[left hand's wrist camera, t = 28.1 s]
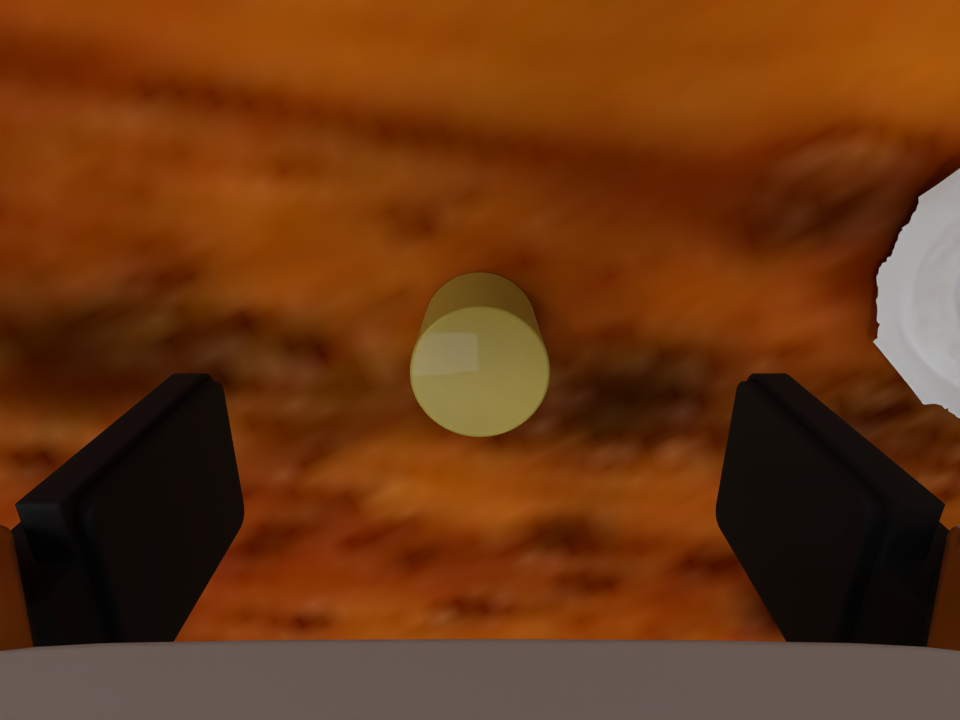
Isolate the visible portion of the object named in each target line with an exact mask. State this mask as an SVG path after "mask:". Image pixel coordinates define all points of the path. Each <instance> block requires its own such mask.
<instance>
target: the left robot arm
mask: <svg viewBox="0 0 960 720" xmlns="http://www.w3.org/2000/svg"><path fill="white" fill-rule="evenodd" d="M15 506H16V509H17V512H18V514H19V517H20V520H21V522H20V523H19V524H18V525H17V526H15V527H14V528H13V529H12V530H11V531H10V530H9V529H8V528H7V527H4V526H1V525H0V720H960V525H959V526H956V527H953V528H952V529H951V530H950V531H949V530H948V529H947V528H946V527H945V526H943V525H942V524H941V523H940V522H939V520H940V517H941V514H942V512H943V509H944V506H945V504H944V503H943V502H942V501H940V500H939V499H938V498H937V497H936V496H934V495H933V494H932V493H931V492H930V491H928V490H927V489H926V488H925V487H924V486H922V485H921V484H920V483H919V482H917V481H916V480H915V479H914V478H913V477H911V476H910V475H909V474H908V473H907V472H905V471H904V470H903V469H902V468H900V467H899V466H898V465H897V464H896V463H894V462H893V461H892V460H891V459H890V458H888V457H887V456H886V455H885V454H884V453H882V452H881V451H880V450H879V449H877V448H876V447H875V446H874V445H873V444H871V443H870V442H869V441H868V440H867V439H865V438H864V437H863V436H862V435H860V434H859V433H858V432H857V431H856V430H854V429H853V428H852V427H851V426H850V425H848V424H847V423H846V422H845V421H844V420H842V419H841V418H840V417H839V416H837V415H836V414H835V413H834V412H833V411H831V410H830V409H829V408H828V407H827V406H825V405H824V404H823V403H822V402H820V401H819V400H818V399H817V398H816V397H814V396H813V395H812V394H811V393H810V392H808V391H807V390H806V389H805V388H804V387H802V386H801V385H800V384H799V383H797V382H796V381H795V380H794V379H793V378H791V377H790V376H789V375H787V374H751V375H750V376H749V378H748V380H747V381H743V382H740V383H739V385H738V387H737V390H736V395H735V401H734V407H733V412H732V418H731V424H730V429H729V435H728V441H727V446H726V452H725V458H724V463H723V469H722V475H721V480H720V486H719V492H718V497H717V503H716V518H717V523H718V525H719V528H720V529H721V531H722V533H723V535H724V536H725V538H726V540H727V541H728V543H729V545H730V546H731V548H732V550H733V552H734V553H735V555H736V557H737V558H738V560H739V562H740V563H741V565H742V567H743V569H744V570H745V572H746V574H747V575H748V577H749V579H750V580H751V582H752V584H753V586H754V587H755V589H756V591H757V592H758V594H759V596H760V597H761V599H762V601H763V603H764V604H765V606H766V608H767V609H768V611H769V613H770V614H771V616H772V618H773V620H774V621H775V623H776V625H777V626H778V628H779V630H780V631H781V633H782V635H783V637H784V638H785V640H786V642H765V641H712V640H550V639H410V640H248V641H195V642H174V640H175V638H176V637H177V635H178V633H179V631H180V630H181V628H182V626H183V625H184V623H185V621H186V620H187V618H188V616H189V614H190V613H191V611H192V609H193V608H194V606H195V604H196V603H197V601H198V599H199V597H200V596H201V594H202V592H203V591H204V589H205V587H206V586H207V584H208V582H209V580H210V579H211V577H212V575H213V574H214V572H215V570H216V569H217V567H218V565H219V563H220V562H221V560H222V558H223V557H224V555H225V553H226V552H227V550H228V548H229V546H230V545H231V543H232V541H233V540H234V538H235V536H236V535H237V533H238V531H239V529H240V528H241V525H242V523H243V518H244V503H243V497H242V492H241V486H240V480H239V475H238V469H237V463H236V458H235V452H234V446H233V441H232V435H231V429H230V424H229V418H228V412H227V407H226V401H225V395H224V390H223V387H222V385H221V383H220V382H217V381H213V380H212V378H211V376H210V375H209V374H173V375H171V376H170V377H169V378H167V379H166V380H165V381H164V382H163V383H161V384H160V385H159V386H158V387H156V388H155V389H154V390H153V391H152V392H150V393H149V394H148V395H147V396H146V397H144V398H143V399H142V400H141V401H140V402H138V403H137V404H136V405H135V406H133V407H132V408H131V409H130V410H129V411H127V412H126V413H125V414H124V415H123V416H121V417H120V418H119V419H118V420H116V421H115V422H114V423H113V424H112V425H110V426H109V427H108V428H107V429H106V430H104V431H103V432H102V433H101V434H100V435H98V436H97V437H96V438H95V439H93V440H92V441H91V442H90V443H89V444H87V445H86V446H85V447H84V448H83V449H81V450H80V451H79V452H78V453H76V454H75V455H74V456H73V457H72V458H70V459H69V460H68V461H67V462H66V463H64V464H63V465H62V466H61V467H60V468H58V469H57V470H56V471H55V472H53V473H52V474H51V475H50V476H49V477H47V478H46V479H45V480H44V481H43V482H41V483H40V484H39V485H38V486H36V487H35V488H34V489H33V490H32V491H30V492H29V493H28V494H27V495H26V496H24V497H23V498H22V499H21V500H20V501H18V502H17V503H16V504H15Z"/></svg>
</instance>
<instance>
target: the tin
mask: <svg viewBox="0 0 960 720" xmlns="http://www.w3.org/2000/svg"><path fill="white" fill-rule="evenodd" d="M549 378H550V364H549V358H548V354H547V351H546V348H545V345H544V342H543V338H542V335H541V332H540V329H539V326H538V323H537V320H536V317H535V314H534V310H533V307H532V305H531V303H530V301H529V299H528V298H527V296H526V295H525V294H524V292H523V291H522V290H521V289H520V288H519V287H518V286H517V285H515V284H514V283H513V282H511V281H510V280H508V279H506V278H504V277H501V276H499V275H496V274H491V273H482V272H478V273H469V274H464V275H461V276H458V277H456V278H454V279H452V280H450V281H449V282H447V283H446V284H445V285H443V286H442V287H441V288H440V289H439V290H438V291H437V292H436V293H435V295H434V296H433V298H432V299H431V301H430V303H429V305H428V307H427V310H426V313H425V316H424V320H423V323H422V326H421V329H420V332H419V335H418V338H417V341H416V344H415V348H414V351H413V354H412V357H411V363H410V379H411V385H412V389H413V392H414V394H415V397H416V399H417V401H418V402H419V404H420V406H421V407H422V408H423V410H424V411H425V412H426V413H427V414H428V415H429V416H430V417H431V418H432V419H433V420H434V421H435V422H437V423H438V424H439V425H441V426H443V427H444V428H446V429H448V430H450V431H453V432H455V433H459V434H462V435H467V436H475V437H485V436H493V435H498V434H501V433H505V432H507V431H509V430H512V429H514V428H516V427H517V426H519V425H521V424H522V423H523V422H525V421H526V420H527V419H528V418H529V417H530V416H531V415H532V414H533V413H534V412H535V411H536V410H537V408H538V407H539V406H540V404H541V402H542V401H543V399H544V396H545V394H546V392H547V388H548V384H549Z"/></svg>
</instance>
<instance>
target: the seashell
mask: <svg viewBox="0 0 960 720" xmlns="http://www.w3.org/2000/svg"><path fill="white" fill-rule="evenodd" d="M918 200H919V203H918V206H917V208H916V211H915V212H914V213H913V215H912V217H911V220H910V222H909V224H907V225H906V226H904V227H903V228H902V229H903V230H902V231H901V232H900V234H899V236H898V240H897V242H896V244H895V247H894V250H893V253H892V255H891V257H888V258H887V262H884V263H882V265H881V267H880V268H879V272H878V275H877V277H876V279H877V286H878V297H877V299H876V303H877V322H878V323H879V324H880V325H879V328H878V334H877V337H878V338H877V339H875V340H874V341H873V342H874V343H875V345H876V346H877V347H878V348H879V349H880V351H881V352H882V353H883V354H884V355H885V357H886V358H887V359H888V360H889V362H890V363H891V364H892V365H893V366H894V368H895V369H896V370H897V371H898V373H899V374H900V375H901V376H902V377H903V379H904V380H905V381H906V382H907V384H908V385H909V386H910V387H911V389H912V390H913V391H914V393H915V394H916V395H917V396H918V398H919V399H920V400H921V402H922V403H923V404H939V405H942V406H943V407H944V409H946V408H948V410H949V412H951V413H953V414H955V415H956V417H958V418H960V169H958V170H957V171H956V172H954V173H953V174H951V175H950V176H949V177H947V178H946V179H944V180H943V181H942V182H940V183H939V184H937V185H936V186H935V187H933V188H932V189H930V190H929V191H927V192H926V193H924V194H923V195H921V196H920V197H918Z"/></svg>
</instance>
